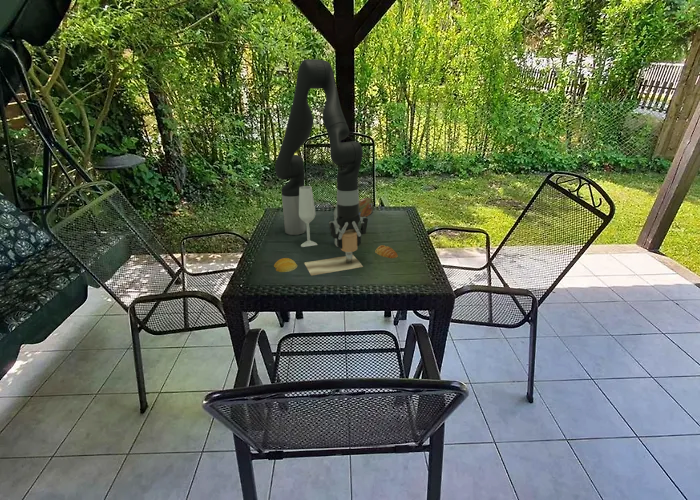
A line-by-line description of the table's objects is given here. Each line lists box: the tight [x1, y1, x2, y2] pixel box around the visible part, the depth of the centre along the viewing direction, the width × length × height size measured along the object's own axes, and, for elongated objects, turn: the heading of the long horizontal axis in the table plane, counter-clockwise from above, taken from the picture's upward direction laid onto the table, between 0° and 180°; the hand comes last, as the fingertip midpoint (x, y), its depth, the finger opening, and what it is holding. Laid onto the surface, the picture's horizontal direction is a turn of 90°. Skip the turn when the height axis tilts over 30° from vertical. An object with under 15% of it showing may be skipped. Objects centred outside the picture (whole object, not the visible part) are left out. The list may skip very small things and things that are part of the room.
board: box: [303, 254, 364, 276], centre depth 153 cm, size 11×19×2 cm, turn 109°
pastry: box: [374, 244, 399, 259], centre depth 161 cm, size 9×7×4 cm
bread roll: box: [273, 257, 298, 273], centre depth 152 cm, size 8×9×4 cm
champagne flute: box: [299, 185, 318, 248], centre depth 169 cm, size 7×7×24 cm
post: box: [345, 252, 353, 264], centre depth 154 cm, size 2×2×5 cm
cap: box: [340, 230, 358, 253], centre depth 151 cm, size 6×6×6 cm
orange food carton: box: [359, 197, 374, 218], centre depth 204 cm, size 15×3×8 cm, turn 147°
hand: (348, 246), depth 152 cm, fingers closed on cap, 5 cm apart
